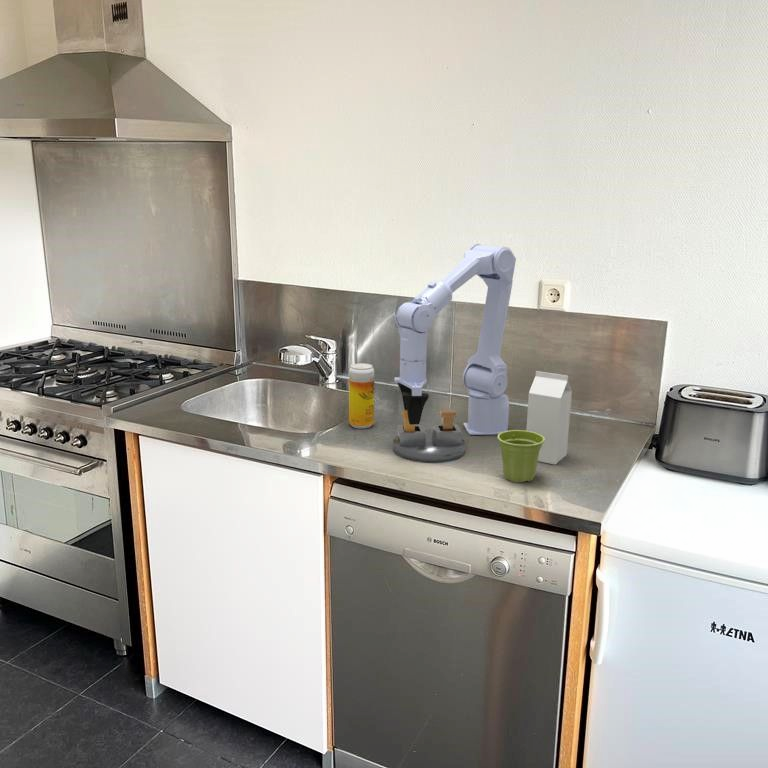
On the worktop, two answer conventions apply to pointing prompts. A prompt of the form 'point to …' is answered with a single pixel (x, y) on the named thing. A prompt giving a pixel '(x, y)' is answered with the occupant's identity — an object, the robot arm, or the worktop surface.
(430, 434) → the two socket peg base
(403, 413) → the wedge pin
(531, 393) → the milk carton
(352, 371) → the beer can
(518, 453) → the plant pot
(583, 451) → the worktop surface
